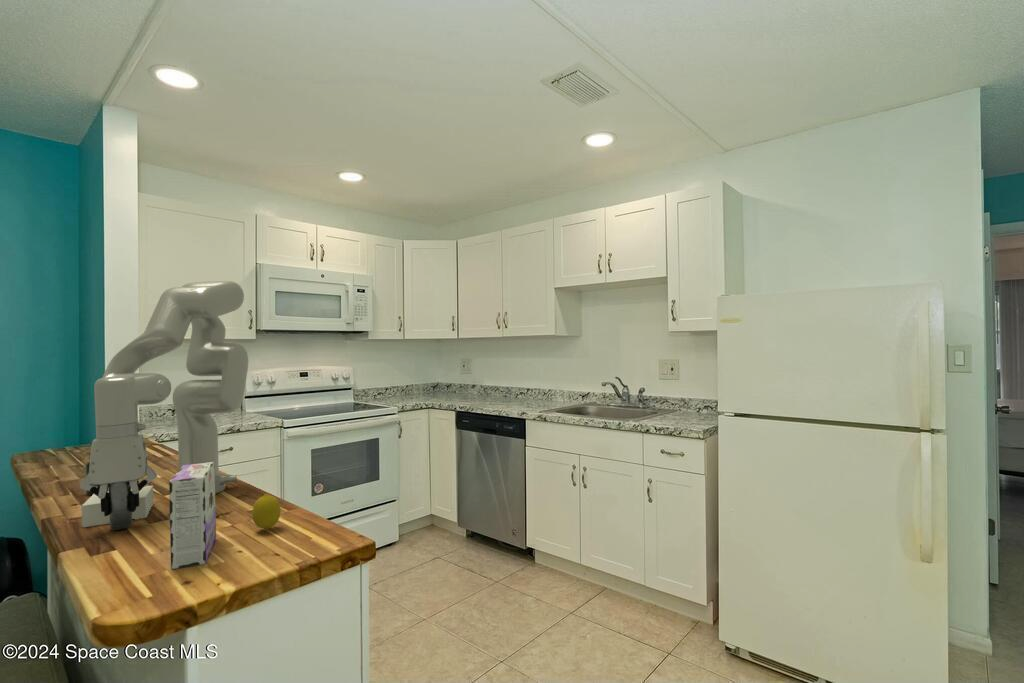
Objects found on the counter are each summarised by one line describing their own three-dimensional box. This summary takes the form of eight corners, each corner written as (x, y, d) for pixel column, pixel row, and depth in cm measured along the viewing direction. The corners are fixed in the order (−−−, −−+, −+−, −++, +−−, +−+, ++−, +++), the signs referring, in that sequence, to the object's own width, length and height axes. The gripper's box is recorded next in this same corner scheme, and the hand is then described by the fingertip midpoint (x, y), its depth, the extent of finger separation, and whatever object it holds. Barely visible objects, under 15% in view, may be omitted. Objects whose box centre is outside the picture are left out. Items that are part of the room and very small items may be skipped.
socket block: (153, 504, 132) (152, 485, 132) (146, 517, 122) (145, 496, 122) (94, 512, 127) (94, 492, 127) (82, 527, 116) (81, 505, 116)
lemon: (275, 524, 115) (274, 488, 115) (284, 530, 111) (283, 493, 111) (249, 531, 111) (248, 494, 111) (257, 537, 107) (256, 499, 107)
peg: (133, 521, 117) (131, 470, 117) (130, 527, 114) (128, 473, 113) (112, 525, 115) (110, 472, 115) (108, 531, 112) (106, 476, 111)
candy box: (184, 543, 105) (182, 464, 105) (217, 538, 107) (215, 460, 107) (169, 570, 92) (167, 479, 92) (207, 564, 94) (204, 475, 94)
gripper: (164, 425, 121) (167, 501, 122) (74, 433, 113) (77, 514, 114) (160, 429, 115) (163, 510, 115) (64, 438, 107) (67, 525, 107)
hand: (120, 511), depth 114 cm, fingers closed on peg, 4 cm apart
